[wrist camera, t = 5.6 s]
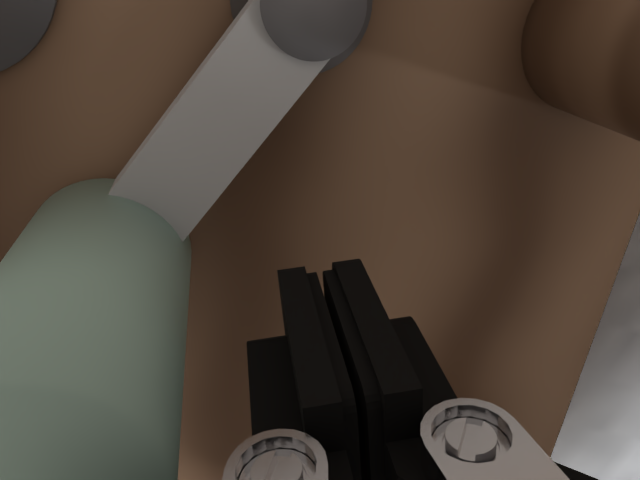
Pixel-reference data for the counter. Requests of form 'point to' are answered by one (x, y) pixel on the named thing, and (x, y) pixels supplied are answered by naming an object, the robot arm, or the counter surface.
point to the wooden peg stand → (365, 181)
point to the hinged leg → (141, 260)
